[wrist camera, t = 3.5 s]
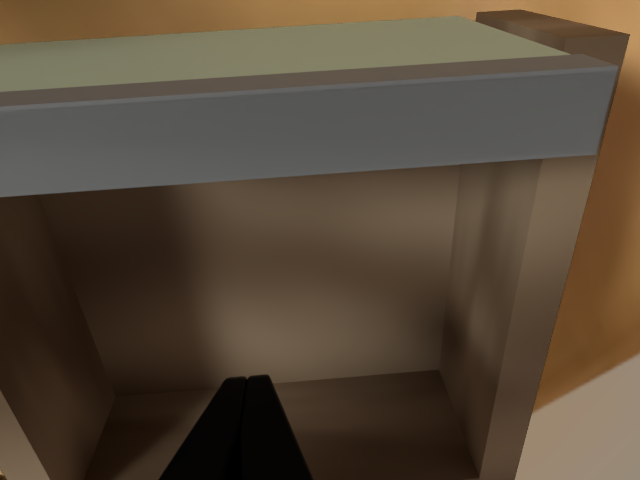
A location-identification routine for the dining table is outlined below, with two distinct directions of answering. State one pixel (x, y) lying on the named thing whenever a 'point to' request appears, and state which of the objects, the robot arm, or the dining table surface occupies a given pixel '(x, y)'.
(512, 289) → the brown hollow box
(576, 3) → the dining table surface
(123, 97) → the green grey flat panel
